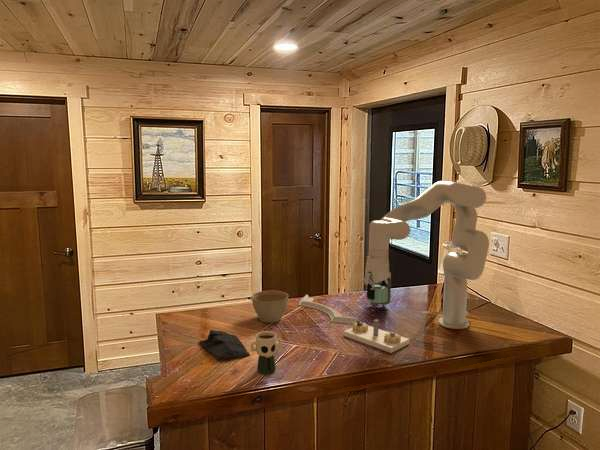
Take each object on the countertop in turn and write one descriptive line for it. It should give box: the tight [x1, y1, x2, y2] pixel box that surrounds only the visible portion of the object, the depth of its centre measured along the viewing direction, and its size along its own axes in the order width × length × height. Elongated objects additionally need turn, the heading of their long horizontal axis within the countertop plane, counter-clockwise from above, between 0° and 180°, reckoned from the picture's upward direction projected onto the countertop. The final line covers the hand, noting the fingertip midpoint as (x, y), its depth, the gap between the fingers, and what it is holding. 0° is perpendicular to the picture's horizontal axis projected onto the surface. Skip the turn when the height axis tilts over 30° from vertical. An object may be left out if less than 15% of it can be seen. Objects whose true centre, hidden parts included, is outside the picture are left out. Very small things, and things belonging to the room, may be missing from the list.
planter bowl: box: [251, 290, 289, 324], centre depth 209 cm, size 16×16×11 cm
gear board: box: [343, 319, 410, 354], centre depth 187 cm, size 12×23×8 cm, turn 45°
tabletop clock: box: [369, 276, 392, 313], centre depth 222 cm, size 14×9×25 cm, turn 172°
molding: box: [298, 294, 360, 325], centre depth 220 cm, size 42×12×3 cm, turn 34°
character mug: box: [250, 330, 282, 375], centre depth 160 cm, size 11×7×13 cm, turn 113°
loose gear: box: [367, 285, 388, 303], centre depth 185 cm, size 8×8×5 cm
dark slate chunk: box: [199, 329, 251, 361], centre depth 179 cm, size 15×22×5 cm
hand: (376, 296), depth 185 cm, fingers closed on loose gear, 7 cm apart
